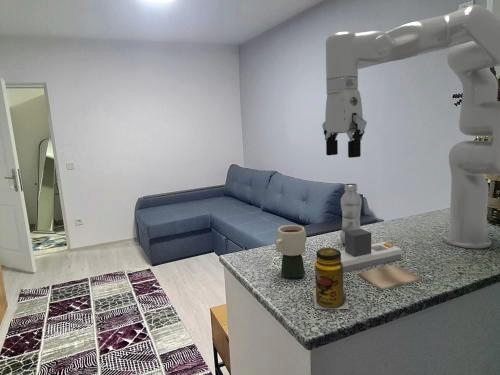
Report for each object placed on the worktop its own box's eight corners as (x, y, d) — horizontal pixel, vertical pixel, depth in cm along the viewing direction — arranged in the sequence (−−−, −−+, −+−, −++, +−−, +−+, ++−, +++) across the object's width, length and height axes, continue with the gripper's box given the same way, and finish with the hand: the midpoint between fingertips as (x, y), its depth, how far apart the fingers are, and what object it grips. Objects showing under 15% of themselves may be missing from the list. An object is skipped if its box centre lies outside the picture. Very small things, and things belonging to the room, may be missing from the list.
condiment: (314, 309, 71) (313, 257, 69) (312, 290, 80) (311, 243, 77) (349, 310, 70) (349, 257, 68) (343, 290, 79) (343, 242, 76)
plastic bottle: (338, 241, 111) (337, 183, 107) (357, 240, 111) (357, 182, 108) (344, 248, 105) (343, 186, 101) (365, 247, 105) (365, 185, 101)
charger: (361, 252, 96) (361, 228, 95) (371, 257, 92) (371, 232, 91) (345, 255, 94) (344, 231, 93) (354, 261, 90) (354, 236, 89)
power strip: (384, 251, 100) (384, 239, 100) (401, 259, 94) (401, 247, 93) (326, 263, 94) (326, 251, 94) (341, 272, 88) (340, 260, 87)
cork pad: (394, 266, 90) (394, 264, 89) (421, 279, 81) (421, 278, 81) (357, 275, 86) (357, 273, 86) (381, 290, 77) (381, 288, 77)
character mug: (297, 265, 94) (295, 221, 92) (316, 272, 89) (315, 226, 87) (269, 277, 88) (266, 230, 86) (287, 286, 82) (285, 236, 80)
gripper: (378, 81, 74) (377, 156, 77) (335, 91, 91) (336, 153, 94) (350, 81, 72) (350, 159, 75) (311, 91, 88) (312, 155, 91)
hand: (342, 156), depth 84 cm, fingers open, 9 cm apart
